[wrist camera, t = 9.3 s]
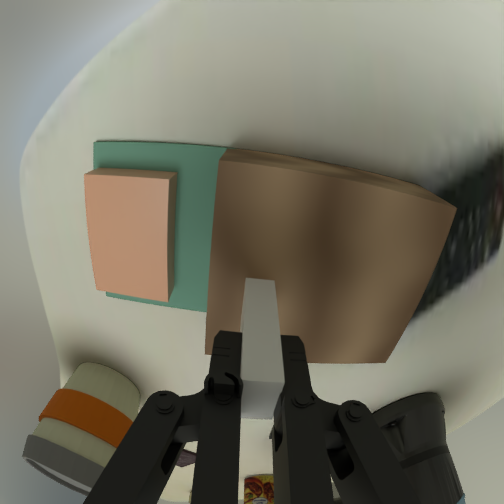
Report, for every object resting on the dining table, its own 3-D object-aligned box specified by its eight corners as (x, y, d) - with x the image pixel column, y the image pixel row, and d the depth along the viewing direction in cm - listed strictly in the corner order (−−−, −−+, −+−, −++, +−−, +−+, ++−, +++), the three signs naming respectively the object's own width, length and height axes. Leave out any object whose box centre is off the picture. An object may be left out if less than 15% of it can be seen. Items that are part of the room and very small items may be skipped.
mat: (235, 148, 17) (235, 149, 17) (218, 310, 23) (218, 313, 23) (96, 141, 17) (93, 142, 17) (108, 293, 23) (106, 296, 23)
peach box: (84, 174, 16) (98, 167, 17) (96, 289, 20) (106, 275, 22) (169, 179, 16) (177, 172, 18) (168, 302, 20) (174, 286, 22)
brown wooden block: (418, 185, 18) (456, 208, 14) (368, 322, 24) (385, 362, 20) (227, 147, 17) (218, 160, 13) (212, 309, 23) (204, 354, 19)
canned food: (255, 472, 44) (255, 523, 33) (288, 476, 45) (291, 524, 35) (238, 480, 47) (236, 526, 36) (269, 484, 48) (270, 527, 38)
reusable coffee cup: (144, 364, 27) (106, 490, 14) (160, 418, 33) (141, 513, 20) (52, 341, 27) (-1, 439, 13) (82, 399, 32) (52, 481, 19)
